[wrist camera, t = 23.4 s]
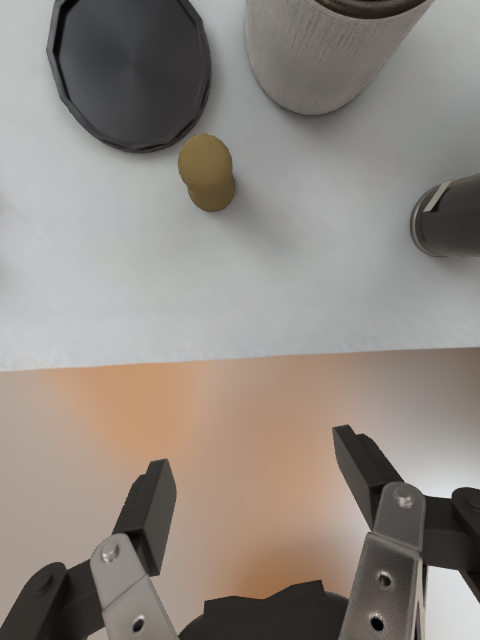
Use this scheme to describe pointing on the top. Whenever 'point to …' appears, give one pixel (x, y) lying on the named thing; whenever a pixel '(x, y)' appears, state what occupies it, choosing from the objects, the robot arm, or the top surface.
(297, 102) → the planter
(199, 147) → the cork
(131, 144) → the metal plate
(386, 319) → the top surface
